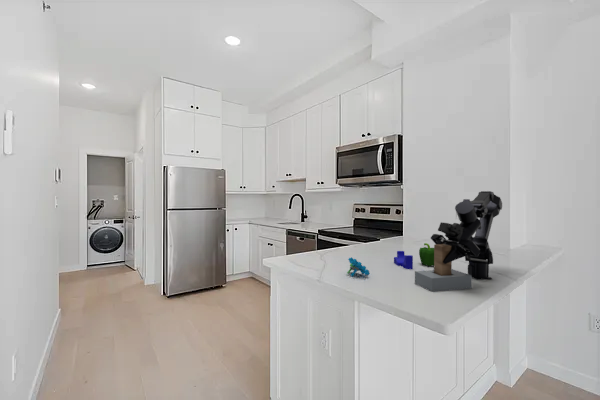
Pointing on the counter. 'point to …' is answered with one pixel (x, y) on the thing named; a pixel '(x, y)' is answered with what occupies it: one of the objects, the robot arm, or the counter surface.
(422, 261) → the bell pepper
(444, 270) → the walnut peg
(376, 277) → the counter surface
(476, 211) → the robot arm
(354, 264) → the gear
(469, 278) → the grey socket block
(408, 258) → the blue stepped arch
